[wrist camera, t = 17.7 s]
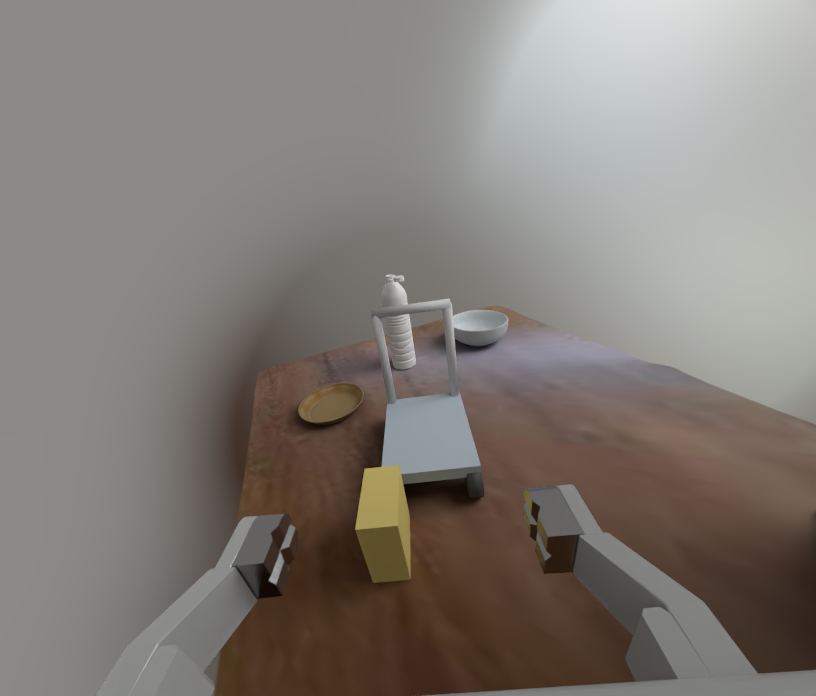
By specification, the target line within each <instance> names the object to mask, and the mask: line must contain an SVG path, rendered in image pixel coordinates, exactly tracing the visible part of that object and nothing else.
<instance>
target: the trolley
mask: <svg viewBox="0 0 816 696" xmlns="http://www.w3.org/2000/svg"><path fill="white" fill-rule="evenodd" d="M442 309H443V320H444V331H445V342H446V352H447V363H448V374H449V384H450V393H447V394H439V395H431V396H422V397H414V398H406V399H397V400H396V395H395V389H394V384H393V379H392V373H391V368H390V363H389V358H388V352H387V347H386V342H385V336H384V331H383V326H382V321H381V318H383V317H390V316H398V315H405V314H412V313H420V312H427V311H434V310H442ZM371 319H372V323H373V329H374V333H375V339H376V343H377V348H378V353H379V358H380V363H381V368H382V373H383V378H384V383H385V388H386V393H387V397H388V402H387V413H386V424H385V434H384V445H383V456H382V467H385V466H395V465H399V466H400V471H401V476H402V481H403V484H410V483H420V482H430V481H439V480H449V479H458V478H465V482H466V487H467V492H468V496H469V498H477V497H484V486H483V479H482V474H481V465H480V461H479V458H478V454H477V451H476V447H475V444H474V441H473V437H472V434H471V430H470V427H469V423H468V420H467V416H466V413H465V409H464V406H463V403H462V399H461V396H460V392H459V389H458V376H457V363H456V351H455V338H454V325H453V313H452V303H450V299H443V300H436V301H429V302H421V303H414V304H407V305H400V306H392V307H385V308H378V309H372V310H371Z"/></svg>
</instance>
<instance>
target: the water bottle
mask: <svg viewBox="0 0 816 696" xmlns="http://www.w3.org/2000/svg"><path fill="white" fill-rule="evenodd" d="M400 280H401V281H404V276H395V275H394V274H390V275H386V283H385V286H384V288H383V290H382V292H381V302H382V305H383V308H385V307H392V306H400V305H407V304H408V303H407V295H406V292H405V290H404V289H403V287H402V286H401V285H400V284H399V283H398V282H401V281H400ZM385 323H386V329H387V335H388V339H389V344H390V350H391V356H392V362H393V366H394V368H396V369H401V370H405V369H409V368H412V367H413V366H415V364H416V357H415V351H414V344H413V337H412V330H411V323H410V318H409V314H405V315H398V316H390V317H385Z"/></svg>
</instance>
